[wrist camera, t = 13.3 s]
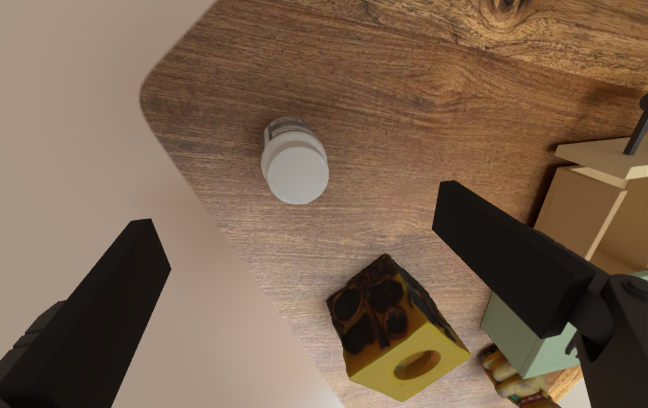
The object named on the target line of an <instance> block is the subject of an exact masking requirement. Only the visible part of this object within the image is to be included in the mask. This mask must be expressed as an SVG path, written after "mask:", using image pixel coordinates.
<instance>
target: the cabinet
mask: <svg viewBox="0 0 648 408" xmlns="http://www.w3.org/2000/svg"><path fill="white" fill-rule="evenodd" d="M627 275H633V276H636V277H639V278H643V279H645V280H647V281H648V270H645V271H640V272H635V273H630V274H627ZM481 327H482V328H483V329H484V331H485V332H486V333H487V334H488V336H489V337H490V338H491V339H492V341H493V342H494V343H495V344H496V346H497V347H498V348H499V349H500V351H501V352H502V353H503V354H504V356H505V357H506V358H507V359H508V361H509V362H510V363H511V364H512V365H513V367H514V368H515V369H516V370H517V372H518V373H519V374H520V376H521V377H522V378H523V379H527V378H531V377H535V376H539V375H543V374H547V373H551V372H555V371H558V370H562V369H566V368H570V367H574V366H578V365H580V361H579V359H578V358H575V356H576V355H577V349H576V348H573V350H572V352H571V353H570V355H567V354H565V348H566V347H567V345H568V343H569V342H570V340H571V338H572V337H573V335H574V334H575V332H576V330H577V329H576V328H575V327H574V326H573V325H571V324H570V323H569V322H568V323H567V325H566V327H565V328H564V330H563V332H562V334H561V335H558V336H554V337H550V338H545V339H540V338H539V337H538V336H537V335H536V334H535V333H534V332H533V331H532V330H531V329H530V328H529V327H528V326H527V325H526V324H525V323H524V322H523V321H522V320H521V319H520V318H519V317H518V316H517V315H516V314H515V313H514V312H513V311H512V310H511V309H510V308H509V307H508V306H507V305H506V304H505V303H504V302H503V301H502V300H501V299H500V298H499V297H498V296H497V295H496V294H495V293H494V292H492V295H491V298H490V301H489V303H488V306H487V309H486V312H485V315H484V317H483V320H482V323H481Z"/></svg>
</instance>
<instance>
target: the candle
mask: <svg viewBox="0 0 648 408" xmlns="http://www.w3.org/2000/svg"><path fill="white" fill-rule="evenodd" d="M327 305H328V308H329V311H330V315H331V316H332V323H333V326H334V328H335V329H336V332H337V334H338V335H339V338H340V340H341V342H342V346H343V357H344V360H345V364H346V372H347V375H348V377H349V379H350V380H351V381H353V382H356V383H358V384H361V385H363V386H366V387H368V388H371V389H373V390H376V391H378V392H381V393H383V394H385V395H387V396H389V397H392V398H394V399H396V400H398V401H401V402H404V401H405V400H407V399H409V398H411V397H412V396H414V395H415V394H417V393H418V392H420V391H422V390H423V389H425V388H426V387H427V386H429V385H430V384H432V383H433V382H435V381H436V380H438V379H439V378H440V377H442V376H443V375H445V374H447V373H448V372H450V371H451V370H453V369H454V368H455V367H457V366H458V365H460V364H461V363H463V362H465V361H466V360H468V359H469V358H470V357H471V356H472V355H471V354H470V352H469V351H468V349H467V348H466V347H465V345H464V344H463V342H462V341H461V339H460V338H459V337H458V336H457V334H456V333H455V331H454V330H453V329H452V328H451V326H450V325H449V324H448V323H447V321H446V319H445V318H444V317H443V315H442V314H441V313H440V311H439V310H438V308H437V307H436V304H435V302H434V301H433V300H432V298H431V297H430V296H429V294H428V292H427V291H426V290H425V289H424V288H423V287H422V286H421V285H419V282H417V281H416V280H415V279H414V278H412V277H411V276H410V275H409V274H408V273H407V272H406V271H405V270H404V269H402V268H401V267H400V266H398V264H397V263H396V262H394V261H393V260H392V259H391V257H390V256H385V255H384V256H383V257H382V258H381V259H379V260H378V261H376V262H375V263H374V264H373V265H372V266H370V267H369V268H367V269H366V270H365V271H363V272H362V273H361V274H360V275H358V276H357V277H356V278H354V279H353V280H352V281H351V282H350V283H348V284H347V287H346V288H345V289H344V290H342V291H341V292H339V293H338V294H336V295H334V296H333V297H331V298H330V299H329V300H328V301H327Z"/></svg>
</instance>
